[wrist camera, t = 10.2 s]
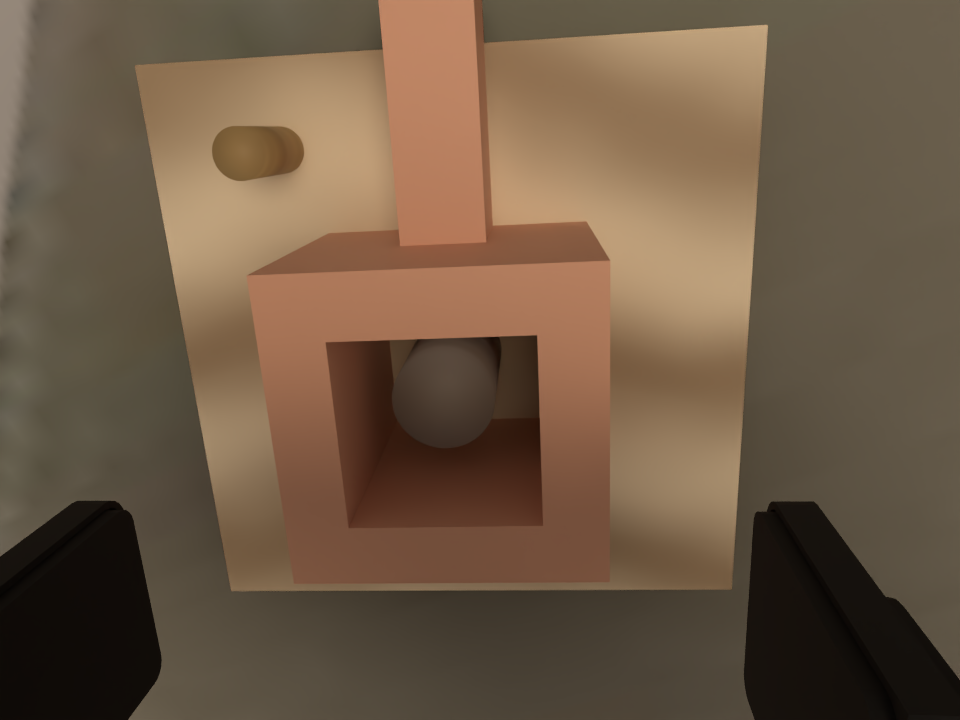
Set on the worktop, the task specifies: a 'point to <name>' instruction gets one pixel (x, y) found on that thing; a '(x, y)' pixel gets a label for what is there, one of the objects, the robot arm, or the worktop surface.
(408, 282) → the square nut with handle
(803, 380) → the worktop surface
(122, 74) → the worktop surface
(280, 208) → the post base
